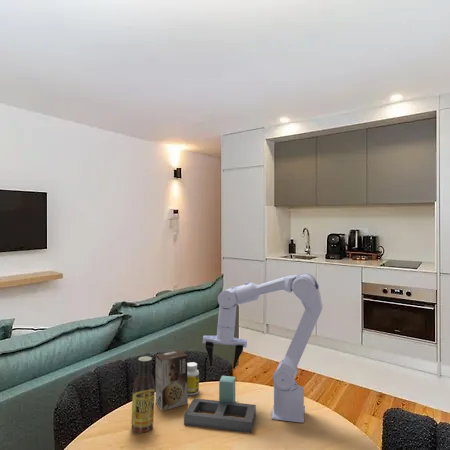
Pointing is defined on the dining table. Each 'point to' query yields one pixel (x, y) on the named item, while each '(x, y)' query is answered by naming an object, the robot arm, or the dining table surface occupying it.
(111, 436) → the dining table surface
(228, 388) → the peg
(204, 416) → the grey peg holder tray
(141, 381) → the sauce bottle
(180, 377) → the coffee box
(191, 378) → the supplement bottle
